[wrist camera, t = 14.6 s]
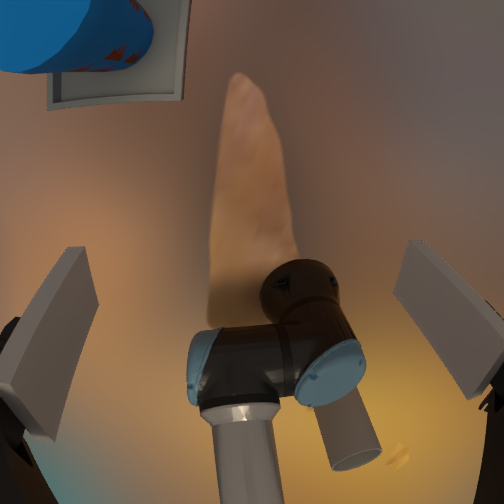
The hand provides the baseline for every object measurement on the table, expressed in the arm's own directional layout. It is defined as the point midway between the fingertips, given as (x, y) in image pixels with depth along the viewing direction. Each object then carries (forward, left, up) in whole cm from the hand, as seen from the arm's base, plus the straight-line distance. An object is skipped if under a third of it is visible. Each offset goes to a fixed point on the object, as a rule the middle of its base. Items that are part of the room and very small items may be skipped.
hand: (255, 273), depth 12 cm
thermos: (+14, +16, -37) cm, 42 cm away
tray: (+14, +16, -37) cm, 43 cm away
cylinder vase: (-62, -31, -38) cm, 79 cm away
